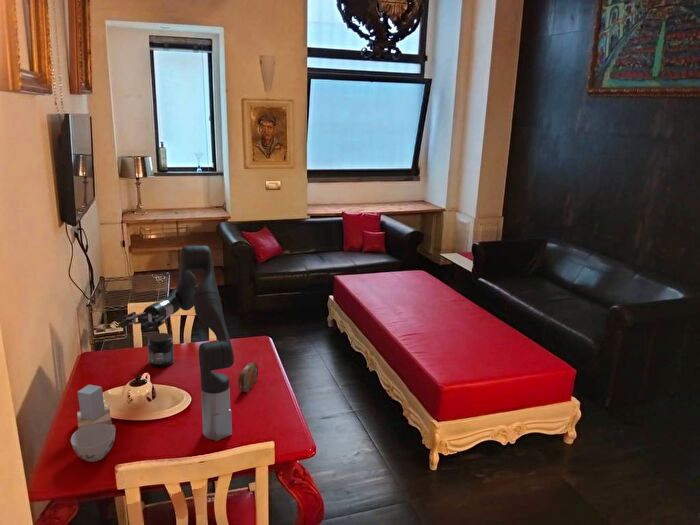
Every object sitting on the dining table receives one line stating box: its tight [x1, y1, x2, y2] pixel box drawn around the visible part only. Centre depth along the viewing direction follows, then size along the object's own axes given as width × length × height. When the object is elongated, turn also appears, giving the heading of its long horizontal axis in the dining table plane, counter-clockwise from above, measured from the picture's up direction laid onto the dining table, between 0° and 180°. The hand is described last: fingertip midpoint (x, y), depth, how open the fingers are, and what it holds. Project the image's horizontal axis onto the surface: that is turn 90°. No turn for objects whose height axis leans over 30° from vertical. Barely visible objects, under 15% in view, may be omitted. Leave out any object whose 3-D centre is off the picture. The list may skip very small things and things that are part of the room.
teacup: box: [70, 424, 116, 463], centre depth 168 cm, size 15×12×8 cm
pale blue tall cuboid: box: [77, 384, 105, 421], centre depth 181 cm, size 5×5×10 cm
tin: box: [237, 362, 259, 393], centre depth 213 cm, size 15×3×8 cm, turn 168°
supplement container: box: [147, 332, 175, 369], centre depth 229 cm, size 10×10×12 cm
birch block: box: [76, 405, 113, 430], centre depth 183 cm, size 10×10×5 cm
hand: (131, 326), depth 193 cm, fingers open, 8 cm apart
